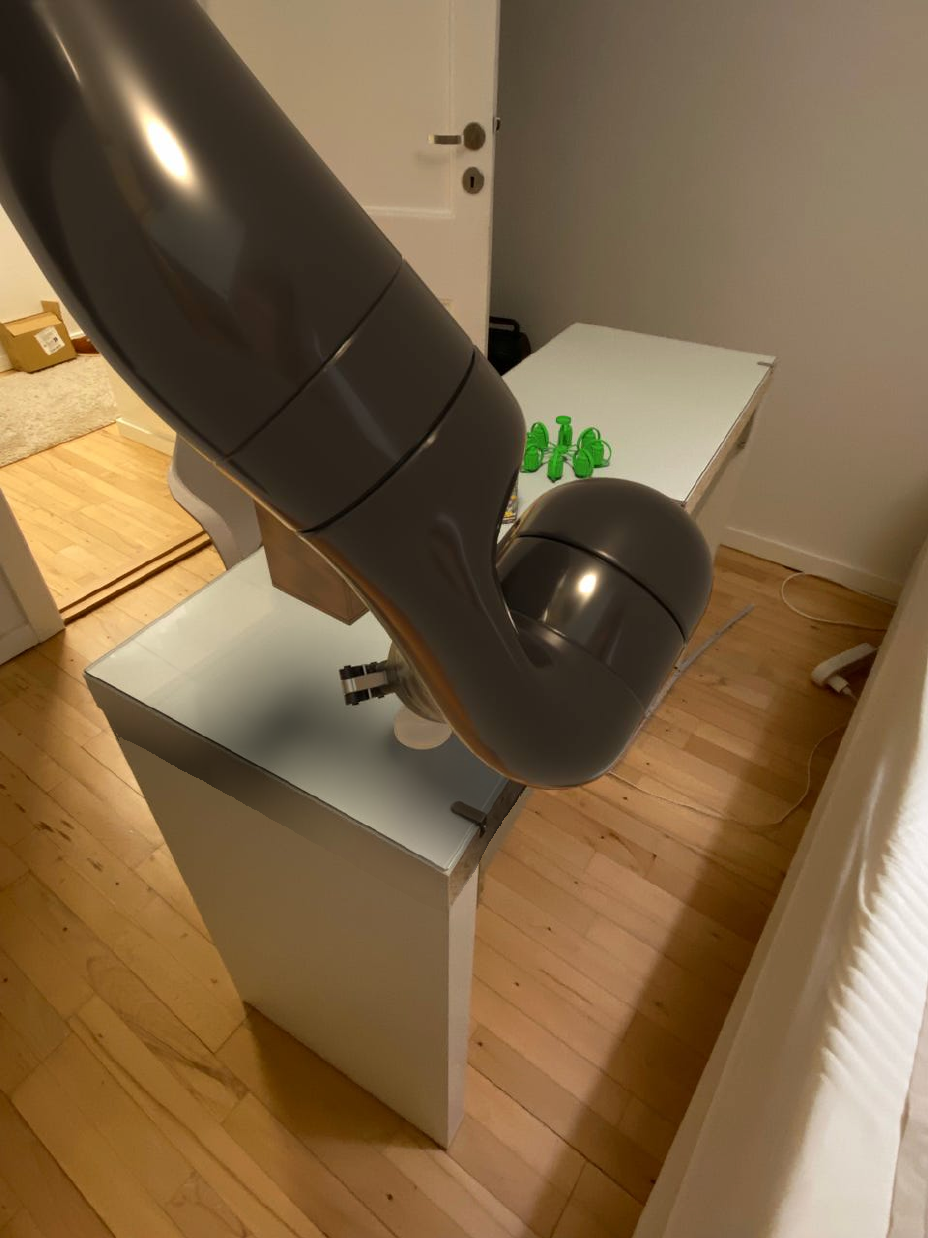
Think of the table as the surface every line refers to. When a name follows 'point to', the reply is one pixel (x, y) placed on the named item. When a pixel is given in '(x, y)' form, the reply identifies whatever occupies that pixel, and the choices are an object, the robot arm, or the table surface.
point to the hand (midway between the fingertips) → (414, 672)
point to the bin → (305, 571)
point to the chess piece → (419, 730)
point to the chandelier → (564, 449)
